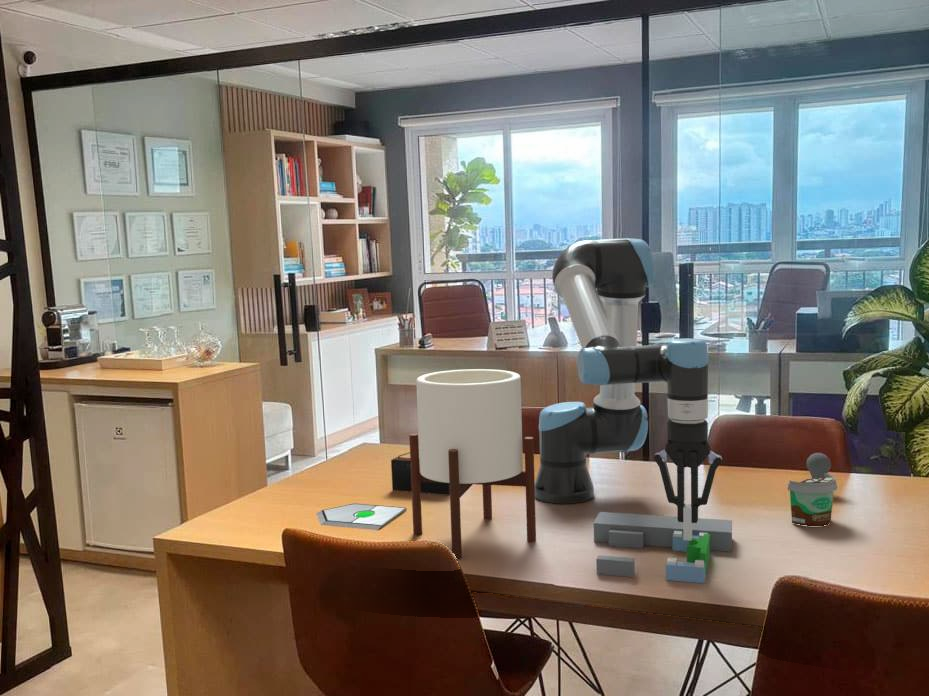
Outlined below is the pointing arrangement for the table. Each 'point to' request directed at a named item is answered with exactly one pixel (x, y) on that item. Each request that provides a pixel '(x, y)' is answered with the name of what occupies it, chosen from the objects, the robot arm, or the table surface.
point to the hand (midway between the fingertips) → (687, 538)
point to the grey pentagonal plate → (359, 516)
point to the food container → (812, 500)
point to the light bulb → (818, 465)
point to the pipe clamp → (699, 550)
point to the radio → (403, 478)
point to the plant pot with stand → (470, 441)
